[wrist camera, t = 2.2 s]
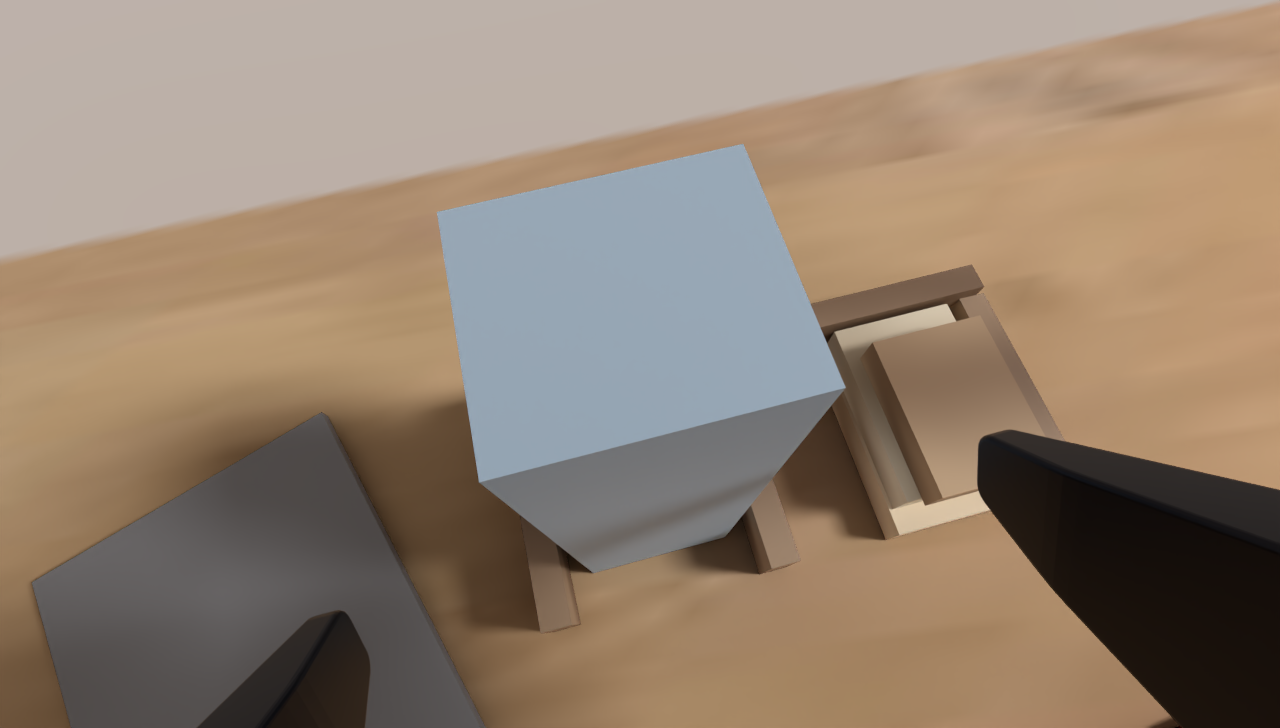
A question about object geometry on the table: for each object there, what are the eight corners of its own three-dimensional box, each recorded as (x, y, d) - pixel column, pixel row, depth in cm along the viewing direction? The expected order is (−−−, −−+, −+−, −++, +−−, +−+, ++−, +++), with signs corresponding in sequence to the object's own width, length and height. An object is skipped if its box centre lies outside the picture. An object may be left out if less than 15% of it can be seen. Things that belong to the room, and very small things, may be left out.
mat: (511, 777, 16) (507, 781, 15) (171, 1039, 14) (158, 1050, 14) (327, 416, 20) (321, 412, 19) (44, 583, 18) (31, 582, 18)
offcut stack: (1011, 504, 18) (1082, 481, 15) (885, 540, 18) (933, 523, 15) (925, 330, 21) (971, 279, 18) (812, 359, 20) (840, 312, 17)
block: (724, 537, 18) (846, 388, 7) (593, 573, 18) (479, 482, 6) (691, 427, 19) (742, 143, 8) (568, 459, 19) (437, 212, 8)
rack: (1043, 494, 18) (1099, 476, 16) (553, 632, 17) (537, 633, 15) (943, 302, 21) (979, 262, 19) (511, 410, 20) (492, 382, 17)
